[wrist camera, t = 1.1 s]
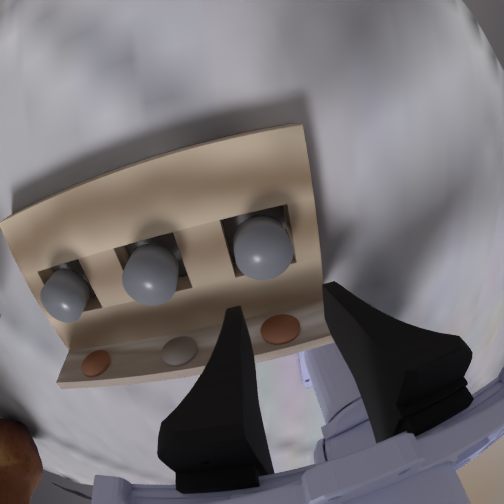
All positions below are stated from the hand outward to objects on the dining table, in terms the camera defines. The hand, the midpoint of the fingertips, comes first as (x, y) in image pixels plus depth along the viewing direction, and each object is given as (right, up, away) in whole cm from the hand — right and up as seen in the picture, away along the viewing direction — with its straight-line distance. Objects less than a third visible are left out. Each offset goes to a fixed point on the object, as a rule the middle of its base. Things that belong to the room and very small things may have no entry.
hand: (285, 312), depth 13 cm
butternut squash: (-43, -29, +19) cm, 55 cm away
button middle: (-8, +2, +7) cm, 11 cm away
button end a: (-1, +3, +7) cm, 8 cm away
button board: (-9, +2, +8) cm, 12 cm away
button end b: (-16, 0, +6) cm, 17 cm away
